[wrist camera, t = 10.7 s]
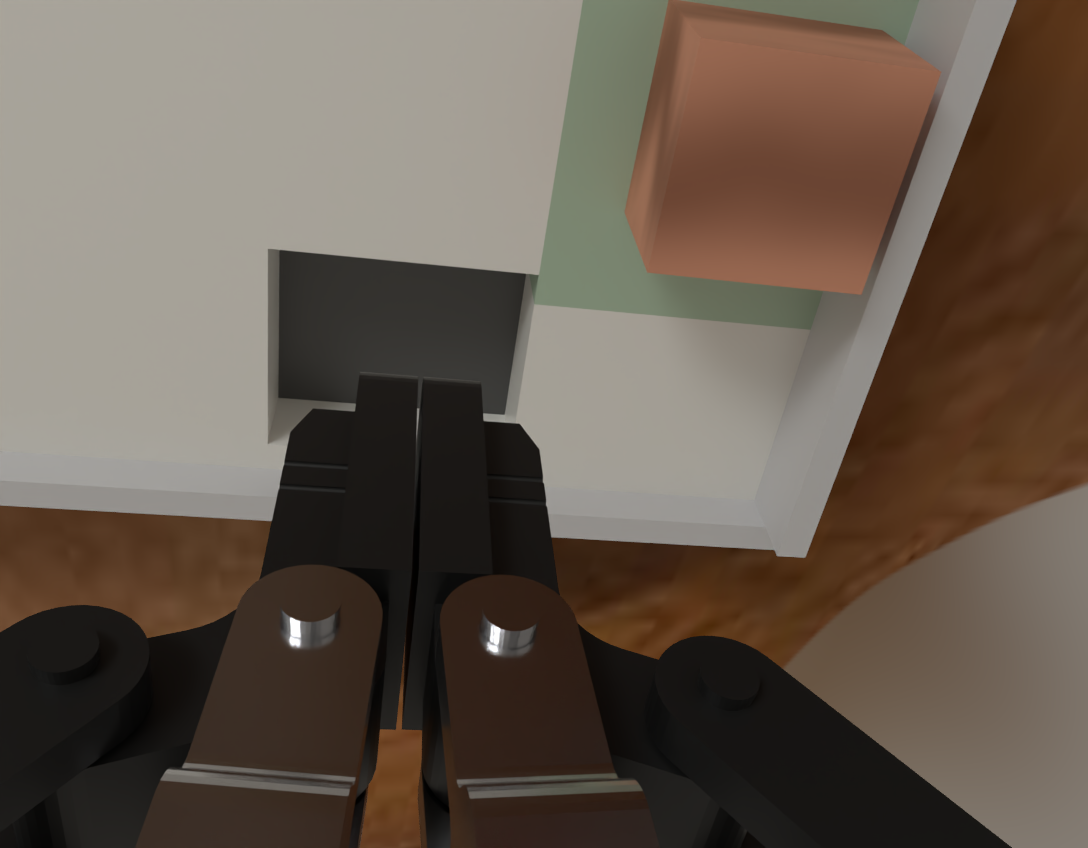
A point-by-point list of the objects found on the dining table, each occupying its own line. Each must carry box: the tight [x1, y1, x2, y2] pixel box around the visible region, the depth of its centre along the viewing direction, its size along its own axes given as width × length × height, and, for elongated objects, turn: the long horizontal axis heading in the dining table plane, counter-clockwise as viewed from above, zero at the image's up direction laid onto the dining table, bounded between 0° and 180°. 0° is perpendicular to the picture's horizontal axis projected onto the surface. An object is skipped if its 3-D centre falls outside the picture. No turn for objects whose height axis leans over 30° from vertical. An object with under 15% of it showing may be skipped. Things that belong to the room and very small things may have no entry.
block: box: [624, 0, 941, 295], centre depth 28 cm, size 6×6×4 cm
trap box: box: [0, 0, 1016, 558], centre depth 29 cm, size 22×34×6 cm, turn 82°
